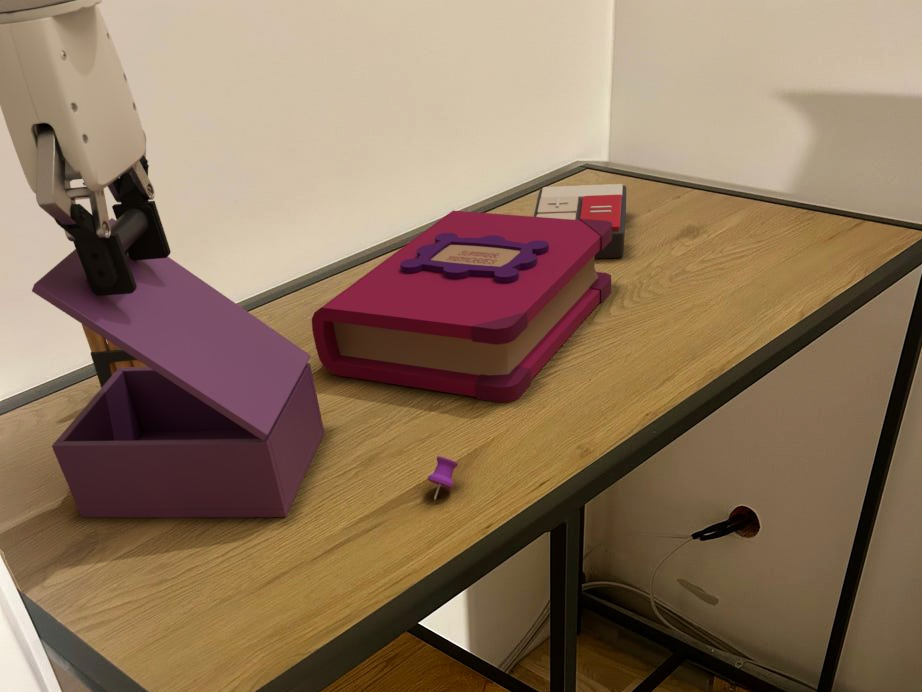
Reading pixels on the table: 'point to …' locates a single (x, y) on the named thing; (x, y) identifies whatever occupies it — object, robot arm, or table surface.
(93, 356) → the ammunition clip
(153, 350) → the lid
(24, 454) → the table surface
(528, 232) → the book
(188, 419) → the box
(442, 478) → the pushpin
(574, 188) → the calculator
